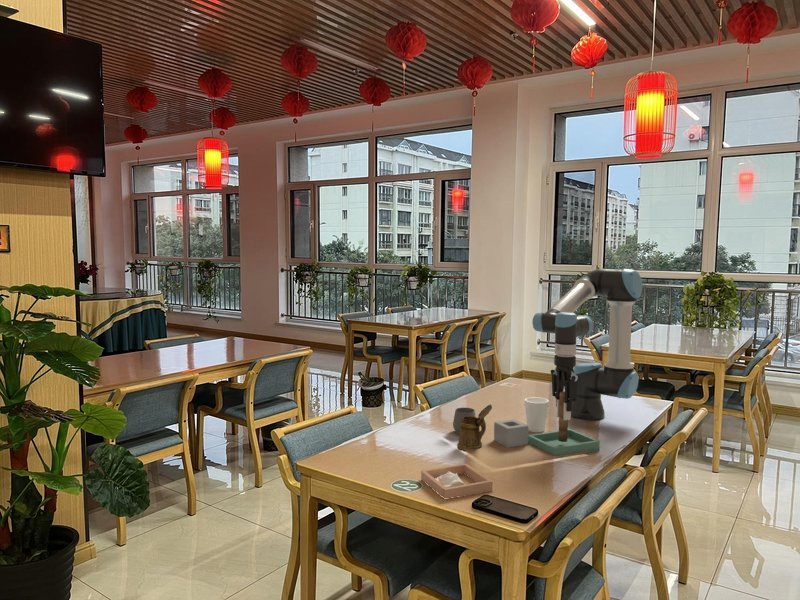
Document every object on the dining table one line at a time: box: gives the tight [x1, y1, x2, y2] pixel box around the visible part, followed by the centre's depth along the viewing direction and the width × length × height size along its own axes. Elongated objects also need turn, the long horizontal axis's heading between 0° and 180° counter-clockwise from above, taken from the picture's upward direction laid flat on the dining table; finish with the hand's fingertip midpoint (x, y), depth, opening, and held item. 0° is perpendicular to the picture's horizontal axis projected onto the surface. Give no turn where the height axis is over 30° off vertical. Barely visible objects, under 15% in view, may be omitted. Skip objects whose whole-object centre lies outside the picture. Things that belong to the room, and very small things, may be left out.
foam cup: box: [524, 396, 550, 433], centre depth 232 cm, size 10×9×13 cm
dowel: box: [558, 390, 569, 442], centre depth 213 cm, size 3×3×18 cm
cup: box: [452, 407, 477, 435], centre depth 228 cm, size 10×9×10 cm
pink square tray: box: [420, 462, 494, 499], centre depth 179 cm, size 16×16×3 cm
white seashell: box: [436, 472, 465, 488], centre depth 179 cm, size 10×4×10 cm
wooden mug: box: [456, 404, 493, 452], centre depth 211 cm, size 9×14×18 cm, turn 47°
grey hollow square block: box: [493, 418, 529, 448], centre depth 216 cm, size 9×9×8 cm
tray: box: [528, 428, 601, 458], centre depth 214 cm, size 20×16×4 cm
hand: (563, 418), depth 213 cm, fingers closed on dowel, 3 cm apart
